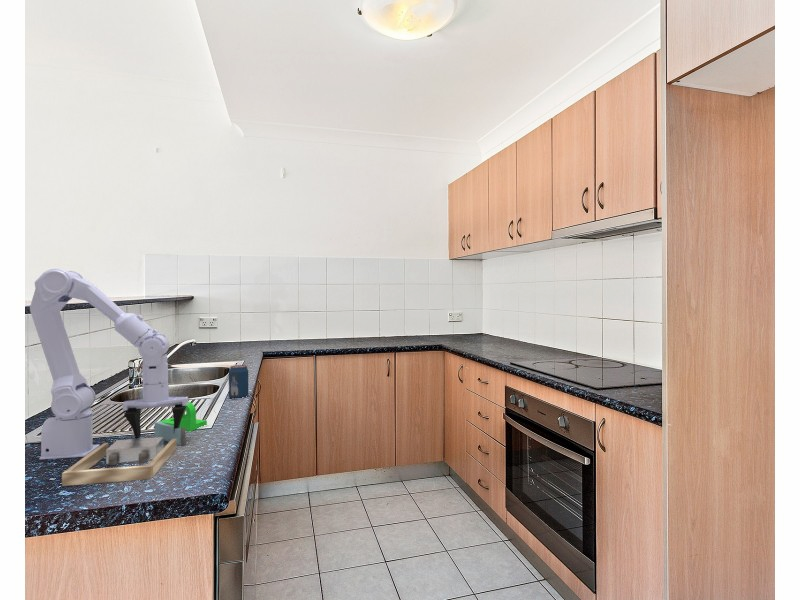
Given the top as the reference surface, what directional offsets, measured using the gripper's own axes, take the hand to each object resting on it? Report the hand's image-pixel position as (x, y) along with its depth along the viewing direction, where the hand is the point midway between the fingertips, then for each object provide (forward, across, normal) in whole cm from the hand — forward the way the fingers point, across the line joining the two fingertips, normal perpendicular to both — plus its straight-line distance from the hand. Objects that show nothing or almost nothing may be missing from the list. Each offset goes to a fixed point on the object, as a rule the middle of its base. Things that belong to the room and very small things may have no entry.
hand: (157, 435), depth 113 cm
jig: (+2, -3, -14) cm, 14 cm away
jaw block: (+2, -2, -9) cm, 9 cm away
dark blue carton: (+4, +15, +51) cm, 53 cm away
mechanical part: (+3, +3, +15) cm, 15 cm away
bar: (+2, +7, -3) cm, 8 cm away
